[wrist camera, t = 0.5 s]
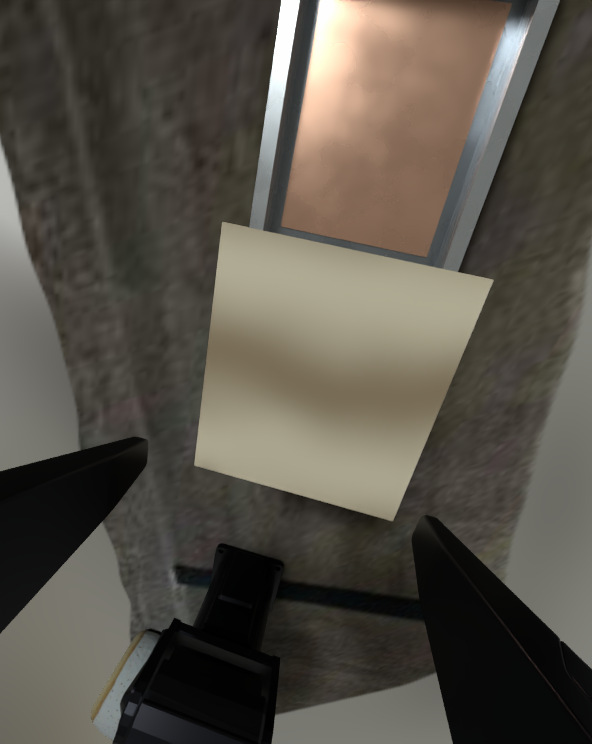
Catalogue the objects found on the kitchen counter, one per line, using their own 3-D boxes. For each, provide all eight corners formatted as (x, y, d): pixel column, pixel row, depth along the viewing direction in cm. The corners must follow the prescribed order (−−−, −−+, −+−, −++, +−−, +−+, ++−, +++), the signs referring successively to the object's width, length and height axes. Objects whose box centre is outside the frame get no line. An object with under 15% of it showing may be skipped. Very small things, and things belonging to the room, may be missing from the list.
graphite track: (379, 461, 21) (388, 498, 18) (227, 420, 22) (204, 447, 18) (573, -72, 12) (678, -231, 9) (306, -105, 13) (294, -262, 10)
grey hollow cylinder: (147, 611, 31) (87, 711, 24) (211, 644, 31) (172, 755, 24) (124, 657, 34) (67, 756, 27) (183, 687, 34) (141, 794, 27)
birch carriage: (370, 430, 19) (392, 521, 12) (248, 398, 20) (194, 465, 12) (420, 284, 16) (493, 279, 9) (273, 251, 17) (222, 221, 9)
